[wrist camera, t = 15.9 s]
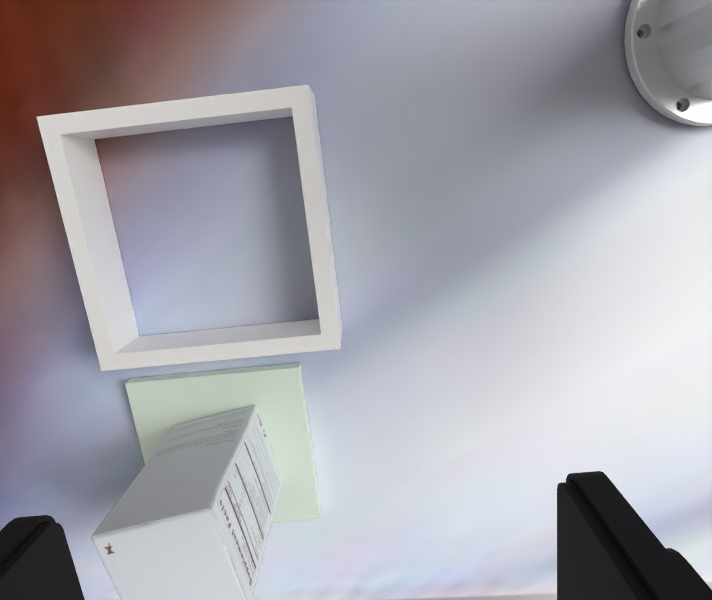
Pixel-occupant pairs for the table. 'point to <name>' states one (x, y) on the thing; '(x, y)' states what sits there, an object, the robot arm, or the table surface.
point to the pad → (231, 392)
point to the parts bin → (100, 245)
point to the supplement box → (195, 513)
